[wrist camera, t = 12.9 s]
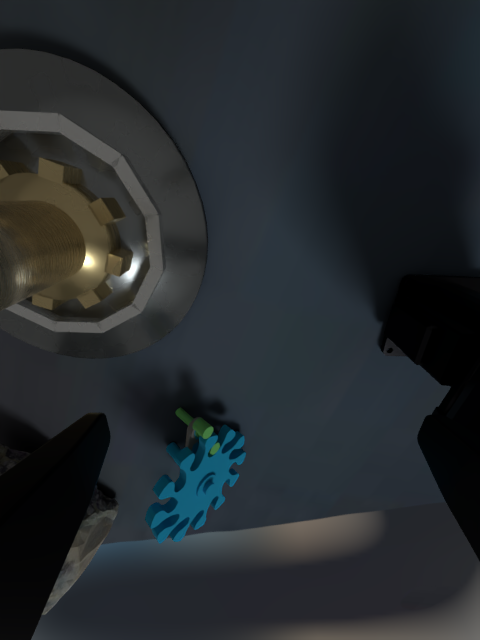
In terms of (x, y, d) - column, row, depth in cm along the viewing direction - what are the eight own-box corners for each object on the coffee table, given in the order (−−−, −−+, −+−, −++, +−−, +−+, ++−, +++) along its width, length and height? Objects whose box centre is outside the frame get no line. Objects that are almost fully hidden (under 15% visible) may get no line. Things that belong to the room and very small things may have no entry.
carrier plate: (206, 67, 14) (202, 50, 13) (209, 354, 22) (207, 367, 20) (-143, 48, 14) (-194, 29, 12) (-17, 348, 21) (-38, 361, 20)
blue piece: (242, 499, 27) (152, 579, 20) (205, 462, 31) (117, 519, 24) (260, 406, 24) (160, 461, 17) (216, 377, 28) (119, 412, 21)
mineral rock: (-5, 421, 25) (-145, 552, 16) (113, 428, 25) (43, 559, 16) (28, 506, 30) (-62, 641, 21) (125, 511, 31) (78, 644, 22)
